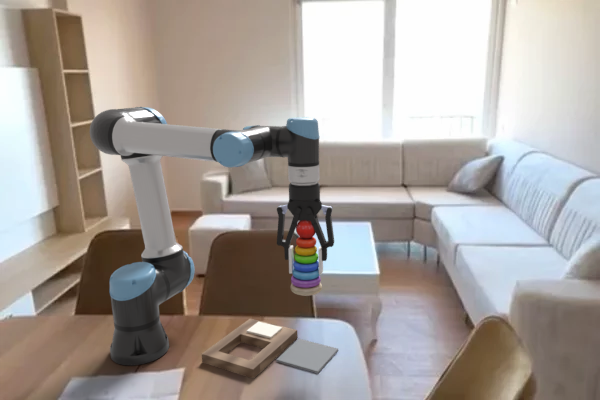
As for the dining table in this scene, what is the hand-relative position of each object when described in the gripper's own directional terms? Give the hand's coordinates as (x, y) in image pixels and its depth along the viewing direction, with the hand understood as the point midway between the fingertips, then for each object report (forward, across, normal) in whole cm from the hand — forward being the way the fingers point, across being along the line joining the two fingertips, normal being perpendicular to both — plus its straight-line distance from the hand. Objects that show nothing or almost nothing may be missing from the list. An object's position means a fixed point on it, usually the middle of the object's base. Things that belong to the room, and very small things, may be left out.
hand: (306, 271), depth 124 cm
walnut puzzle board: (+23, -16, +1) cm, 28 cm away
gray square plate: (+24, 0, 0) cm, 24 cm away
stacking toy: (+5, 0, 0) cm, 5 cm away
